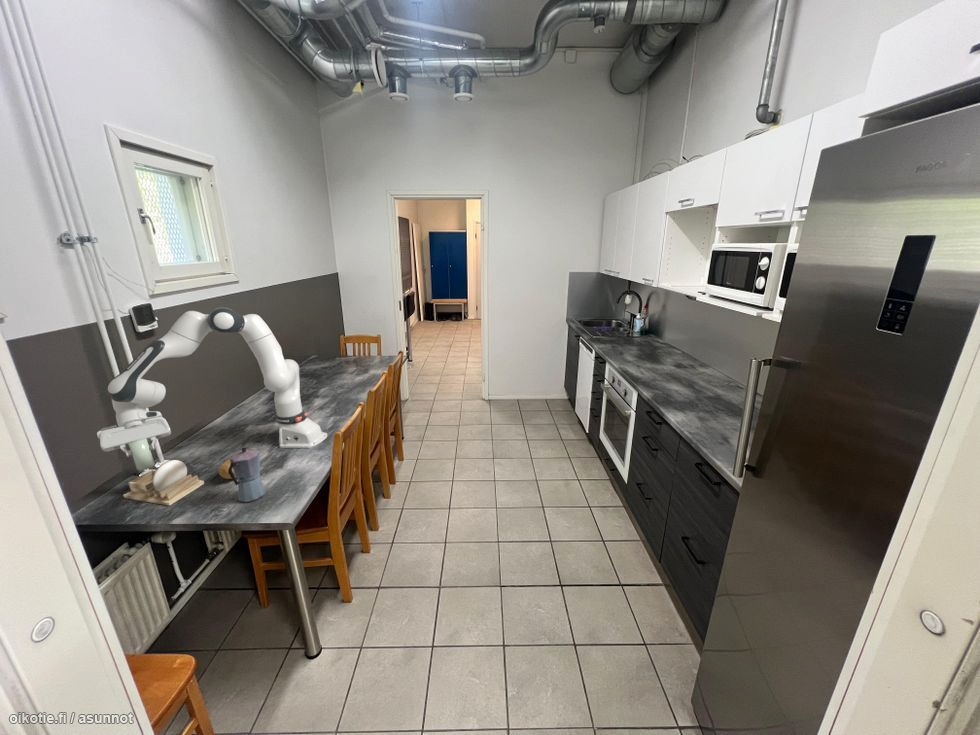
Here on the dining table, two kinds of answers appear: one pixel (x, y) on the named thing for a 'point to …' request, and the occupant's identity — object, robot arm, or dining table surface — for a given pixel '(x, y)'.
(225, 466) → the potato
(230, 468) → the moka pot
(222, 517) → the dining table surface
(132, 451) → the pale green glossy part
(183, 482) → the rack
